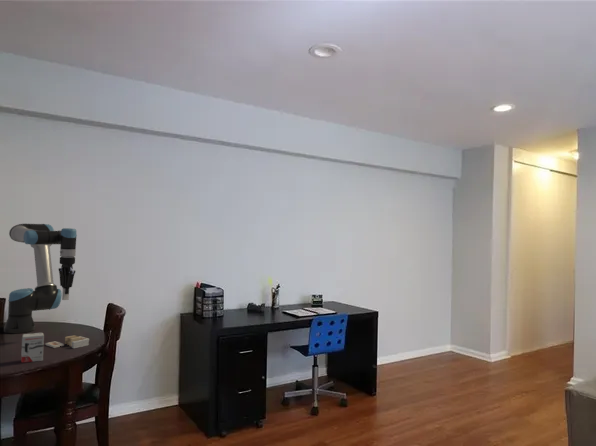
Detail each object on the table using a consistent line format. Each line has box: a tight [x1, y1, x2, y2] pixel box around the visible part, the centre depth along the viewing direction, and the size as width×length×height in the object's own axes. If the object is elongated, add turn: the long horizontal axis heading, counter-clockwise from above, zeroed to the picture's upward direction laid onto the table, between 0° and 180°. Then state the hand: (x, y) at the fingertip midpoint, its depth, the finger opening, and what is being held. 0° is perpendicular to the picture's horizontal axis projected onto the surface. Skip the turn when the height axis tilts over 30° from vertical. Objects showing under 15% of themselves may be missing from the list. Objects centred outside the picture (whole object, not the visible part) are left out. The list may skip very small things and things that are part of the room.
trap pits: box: [45, 335, 89, 349], centre depth 237 cm, size 8×19×1 cm, turn 148°
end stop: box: [71, 338, 90, 349], centre depth 231 cm, size 2×8×3 cm, turn 148°
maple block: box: [64, 335, 82, 347], centre depth 234 cm, size 6×5×4 cm
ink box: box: [20, 332, 45, 363], centre depth 206 cm, size 8×5×12 cm, turn 123°
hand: (65, 299), depth 247 cm, fingers closed
